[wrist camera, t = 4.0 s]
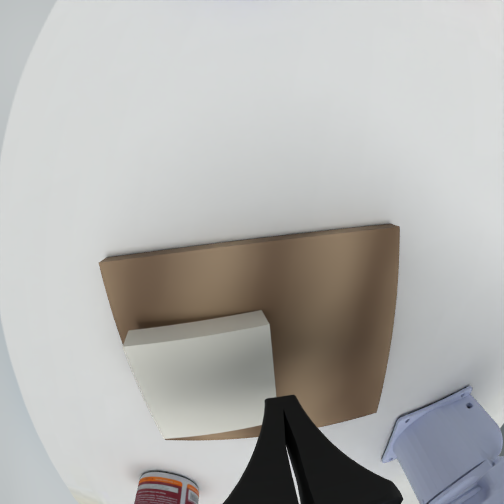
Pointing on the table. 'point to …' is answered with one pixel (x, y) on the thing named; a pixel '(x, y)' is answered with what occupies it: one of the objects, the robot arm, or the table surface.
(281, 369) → the board
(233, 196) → the table surface
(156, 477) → the pill bottle
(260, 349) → the tile
